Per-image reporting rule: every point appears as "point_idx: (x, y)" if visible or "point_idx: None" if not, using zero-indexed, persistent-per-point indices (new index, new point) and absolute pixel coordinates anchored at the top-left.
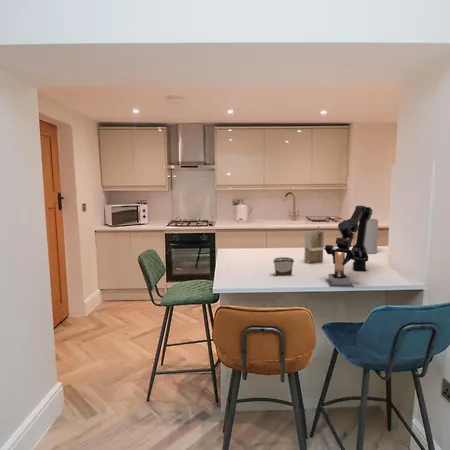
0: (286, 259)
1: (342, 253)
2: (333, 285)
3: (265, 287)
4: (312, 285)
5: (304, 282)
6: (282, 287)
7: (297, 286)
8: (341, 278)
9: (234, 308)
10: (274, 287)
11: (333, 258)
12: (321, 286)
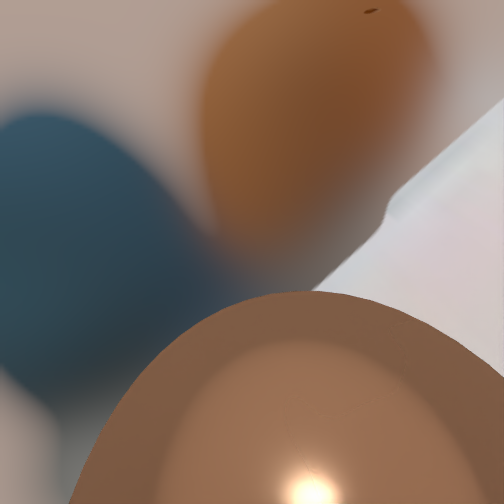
0: None
1: (142, 390)
2: None
3: (497, 110)
4: (388, 258)
5: (473, 276)
6: (454, 148)
7: (425, 196)
8: None
9: (367, 13)
10: (475, 129)
11: None
12: (338, 276)
